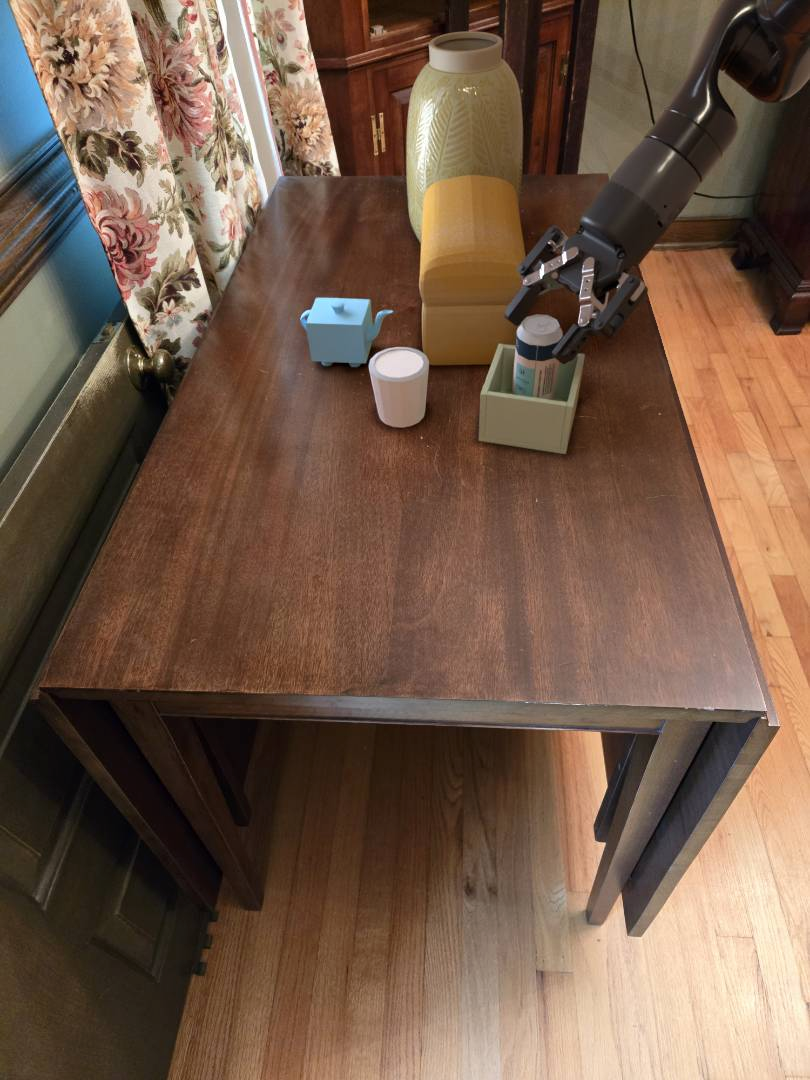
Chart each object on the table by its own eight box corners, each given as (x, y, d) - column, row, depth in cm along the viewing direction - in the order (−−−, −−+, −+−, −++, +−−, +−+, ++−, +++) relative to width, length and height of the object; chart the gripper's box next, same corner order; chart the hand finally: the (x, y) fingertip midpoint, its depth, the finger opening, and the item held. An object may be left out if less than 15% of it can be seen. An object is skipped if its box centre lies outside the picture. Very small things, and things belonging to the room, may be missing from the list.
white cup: (364, 405, 88) (359, 355, 83) (415, 389, 90) (413, 339, 85) (387, 437, 84) (383, 387, 79) (440, 419, 86) (439, 370, 80)
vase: (391, 232, 118) (379, 37, 98) (484, 208, 123) (490, 16, 103) (439, 278, 108) (436, 69, 88) (538, 250, 112) (557, 45, 92)
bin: (577, 401, 87) (585, 353, 82) (565, 454, 81) (573, 406, 76) (496, 389, 89) (498, 343, 84) (478, 440, 83) (480, 393, 78)
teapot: (399, 344, 97) (396, 292, 91) (392, 370, 93) (388, 318, 87) (311, 340, 98) (303, 289, 93) (301, 366, 94) (292, 314, 89)
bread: (522, 365, 92) (532, 251, 81) (421, 366, 93) (417, 254, 82) (511, 269, 108) (518, 164, 97) (425, 271, 109) (422, 167, 98)
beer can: (553, 405, 85) (565, 314, 77) (549, 431, 82) (561, 339, 74) (512, 401, 86) (520, 310, 77) (507, 426, 83) (514, 334, 74)
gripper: (575, 158, 73) (476, 295, 78) (675, 208, 64) (556, 359, 69) (609, 198, 78) (514, 324, 83) (705, 250, 70) (592, 387, 75)
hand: (533, 340), depth 76 cm, fingers open, 8 cm apart
